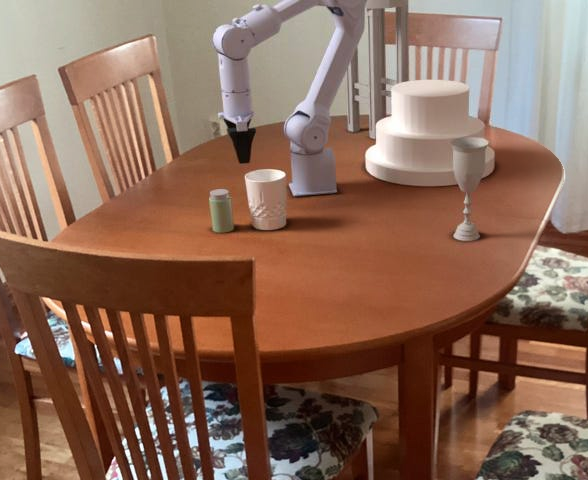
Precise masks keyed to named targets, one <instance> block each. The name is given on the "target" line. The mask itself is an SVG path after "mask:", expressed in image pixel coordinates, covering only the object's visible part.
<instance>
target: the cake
mask: <svg viewBox="0 0 588 480" xmlns="http://www.w3.org/2000/svg"><path fill="white" fill-rule="evenodd" d="M390 91H391V97H390V98H391V115H390V116H386V118H384V119H382V120H380V121H378V122H377V123H376V139H375V144H374V145H373V144H372V145H371V146H370V147H369V148H368V149H367V150H366V151H365V154H364V157H365V169H366V171H367V172H368V173H369V174H370V175H371V176H373V177H375V178H377V179H379V180H382V181H385V182H388V183H392V184H396V185H397V184H398V185H404V186H413V187H414V186H415V187H446V186H455V185H458V183H457V180H456V178H455V174H454V171H453V147H452V145H451V141H452V140H454V139H457V138H462V137H478V138H483V139H485V129H486V127H485V126H486V125H485V122H484V121H483V120H481V119H480V118H478V117H475V116H472V115H469V114H470V86H469V85H468V84H466V83H463V82H460V81H455V80H449V79H448V80H446V79H415V80H409V81H407V82H402V83H398V84H396V85H394V86H392V85H391V90H390ZM495 155H496V153H495V150H494V149H493V148H492V147H491V146H489V145H487V147H486V152H485V170H484V173H483V175H482V178H481V179H484V178H486V177H487V176H489V175H490V174H491V173H493V171H494V169H495V159H496V158H495V157H496V156H495Z"/></svg>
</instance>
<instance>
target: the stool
mask: <svg viewBox="0 0 588 480" xmlns="http://www.w3.org/2000/svg"><path fill="white" fill-rule="evenodd" d="M394 8H395V79H391V78H388V77H387V68H386V62H387V61H386V57H387V56H386V9H394ZM365 9H366V36H367V41H366V42H367V78H368V79H367V82H368V84H364V83H361V82H359V81H360V79H359V49H358V48H359V47H358V46H359V45H358V46H357V48H356V50H355V53H354V55H353V57H352V60H351V62H350V64H349V66H348V69H347V71H346V73H345V83H346V84H345V85H346V111H347V112H346V113H347V131H349V132H352V133H355V132H360V131H361V117H360V116H361V115H360V114H361V113H360V103H364V104H366V105H368V123H369V124H368V125H369V126H368V127H369V138H370V139H372V140H376V123H377V122H378V121H380V120H382V119H384V118H386V117H387V97H388V98H391V90H387V85H389V86H391V87H392V86H394V85H396V84H398V83H402V82H407V81H410V80H409V79H410V77H409V75H410V73H409V70H410V69H409V67H410V66H409V65H410V64H409V60H410V59H409V53H410V51H409V44H410V43H409V41H410V39H409V38H410V37H409V0H367V3H366V5H365ZM360 90H361V91H364V92H368V97H367V96H363V95H360Z"/></svg>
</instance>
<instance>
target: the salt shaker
mask: <svg viewBox="0 0 588 480" xmlns="http://www.w3.org/2000/svg"><path fill="white" fill-rule="evenodd" d="M208 202H209V211H210V219H211V228H212V231H213V232H214V233H219V234H221V233H222V234H223V233H229V232H232V231H234V230H235V223H234V214H233V204H232V196H231V195H230V191H229V190H228V189H225V188H217V189H213V190H210V192H209V197H208Z"/></svg>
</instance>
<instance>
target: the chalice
mask: <svg viewBox="0 0 588 480" xmlns="http://www.w3.org/2000/svg"><path fill="white" fill-rule="evenodd" d="M489 142H490V141H489V140H488V139H486V138H484V139H483V138H478V137H462V138H457V139H454V140H452V141H451V145H452V147H453V171H454V174H455V178H456V180H457V183H458V184H457V185H458V187H459V188H460V191H461V192H463V193H464V194H465V198H464V200H463V204H464V210H463V211H462V213H463V214H464V220H463V221H462V222H460V223H458V225H457V226H456V229H455V232H454V234H453V238H454V239H456V240H458V241H464V242H473V241H477V240H478V239H480V237H481V235H480V234H479V230H478V229H477V225H476V224H475V223H473V222H472V221H471V218H470V217H471V214H472V213H473V210H471V204H473V201H472V198H471V195H472V193H473V192H475V191H476V190H477V188H478V187H479V184H480V182H481V180H482V179H483V178H482V175H483V173H484V170H485V152H486V147H487V146H489V144H490V143H489Z"/></svg>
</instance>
